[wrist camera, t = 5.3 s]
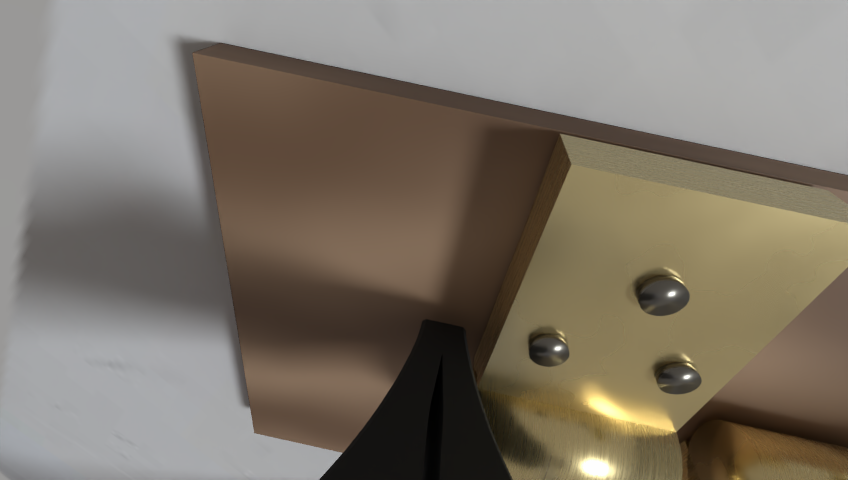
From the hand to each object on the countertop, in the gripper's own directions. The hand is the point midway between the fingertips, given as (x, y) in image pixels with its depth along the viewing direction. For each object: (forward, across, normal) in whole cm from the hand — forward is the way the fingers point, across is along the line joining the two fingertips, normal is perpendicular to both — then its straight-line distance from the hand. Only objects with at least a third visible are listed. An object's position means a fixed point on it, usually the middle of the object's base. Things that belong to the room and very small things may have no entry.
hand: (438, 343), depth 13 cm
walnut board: (+2, -5, +1) cm, 5 cm away
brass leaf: (+1, -4, -2) cm, 5 cm away
